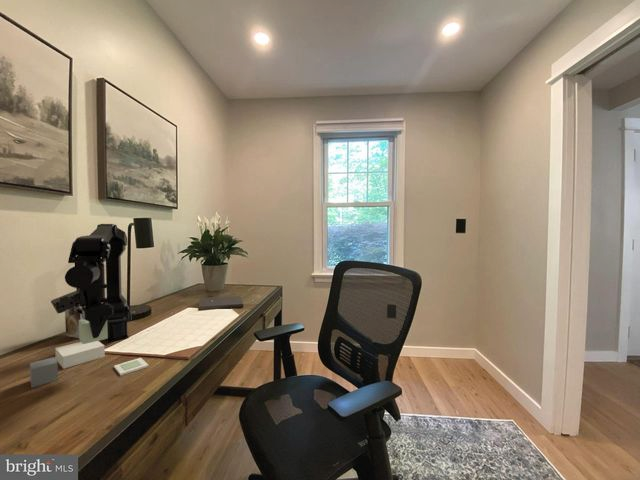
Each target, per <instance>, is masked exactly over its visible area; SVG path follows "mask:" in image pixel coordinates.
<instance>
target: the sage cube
mask: <svg viewBox="0 0 640 480" xmlns="http://www.w3.org/2000/svg"><path fill="white" fill-rule="evenodd" d="M78 339H79V342H82V344H86V343H91V342H95V341H99V342H100V341H103V340H105V339H108V330H107V321H106V323H105V325H104V327H103V329H102V331H101V333H100V335H99V337H98V338H93V336H92V332H91V328H90V324H89V321H87V320H85V319H82V320H79V338H78Z"/></svg>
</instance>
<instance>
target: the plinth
mask: <svg viewBox="0 0 640 480" xmlns="http://www.w3.org/2000/svg"><path fill="white" fill-rule="evenodd" d="M105 357H106V354H105V344H103V343H101V341H100V340H99V341H95V342H91V343H86V344H82V342H81V341H78V342H74V343H70V344H65V345H62V346H57V347H55V358H56V360H57V362H58V364H59V365H60V366H61V367H62V368H61V369H64V370H65V369H67V368H71V367H75V366H77V365H81V364H85V363H88V362H92V361H95V360H99V359H101V358H105Z"/></svg>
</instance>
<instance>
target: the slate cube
mask: <svg viewBox="0 0 640 480" xmlns="http://www.w3.org/2000/svg"><path fill="white" fill-rule="evenodd" d="M58 364H59V363H58V361H57V360H56V356H53V357H49V358H46V359H45V358H44V359H41V360H38V361H34V362H30V363H29V378H30V386H31V388H36V387H40V386H43V385H46V384H50V383H53V382H56V381H59V375H58V374H59V367H58Z"/></svg>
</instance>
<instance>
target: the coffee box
mask: <svg viewBox="0 0 640 480" xmlns="http://www.w3.org/2000/svg"><path fill="white" fill-rule="evenodd" d="M76 309H79V305H78V307H77V308H75V307H72V308H70V309H67V310H65V312H64V319H65V320H64V321H65V322H64V323H65V337H71V338H76V339H79V320H82V319H83V318H82V316H83V315H82V314H80V313H79V312H77V311H76Z"/></svg>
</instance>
